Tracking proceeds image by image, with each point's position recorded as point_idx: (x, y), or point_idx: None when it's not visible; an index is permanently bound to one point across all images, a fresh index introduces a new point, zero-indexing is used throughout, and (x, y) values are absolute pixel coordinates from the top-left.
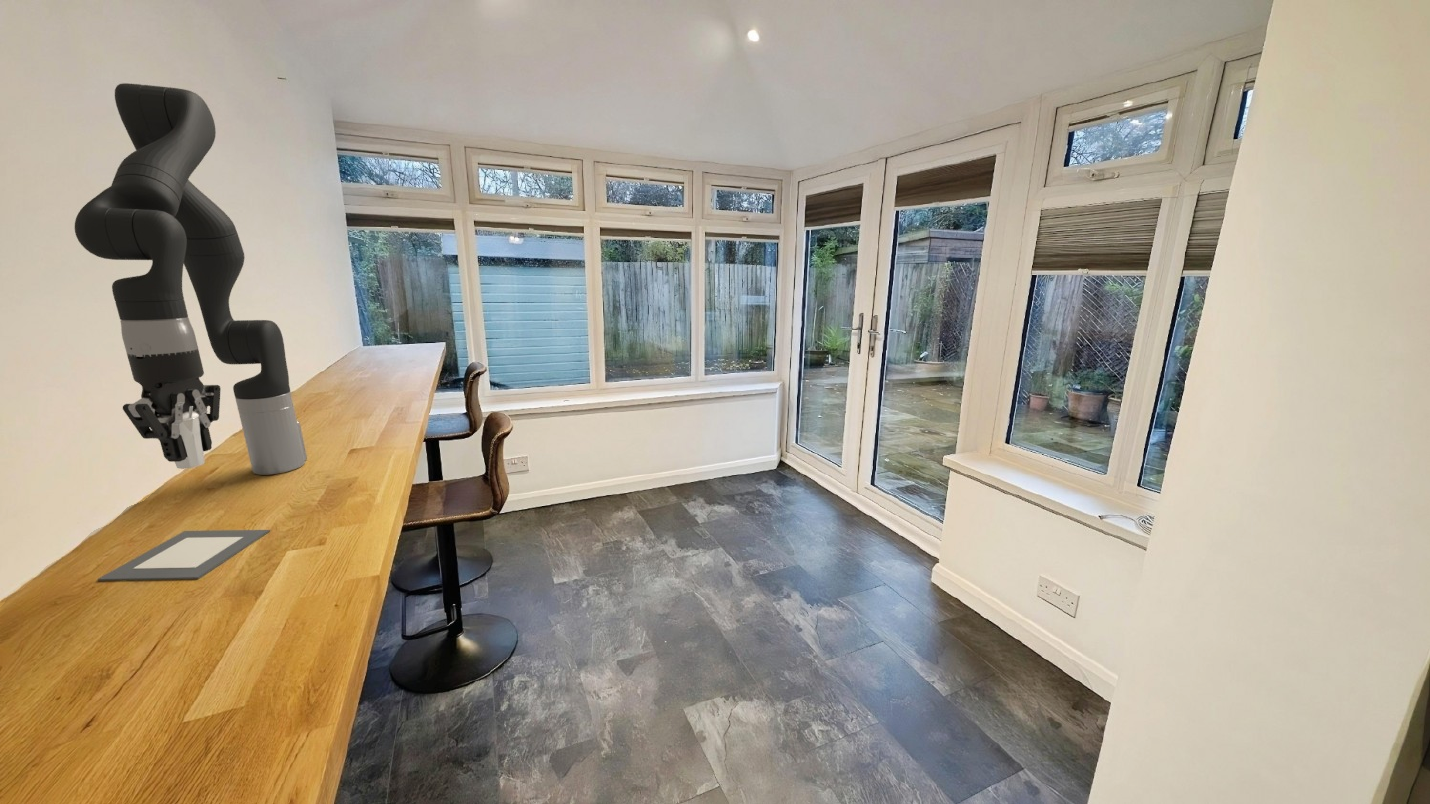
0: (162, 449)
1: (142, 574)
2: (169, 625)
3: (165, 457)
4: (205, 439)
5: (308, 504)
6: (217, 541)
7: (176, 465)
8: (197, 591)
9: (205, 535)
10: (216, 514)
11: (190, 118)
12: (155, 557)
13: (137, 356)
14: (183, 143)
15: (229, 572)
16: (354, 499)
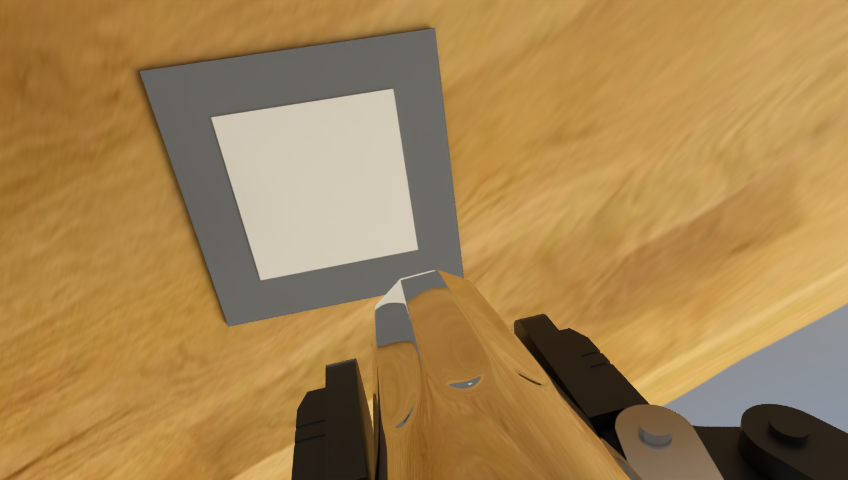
0: (296, 447)
1: (197, 178)
2: (79, 430)
3: (303, 403)
4: None
5: (620, 237)
6: (386, 205)
7: (375, 315)
8: (189, 367)
9: (415, 129)
10: (559, 3)
11: None
12: (276, 117)
13: None
14: None
15: (271, 360)
16: (644, 329)
